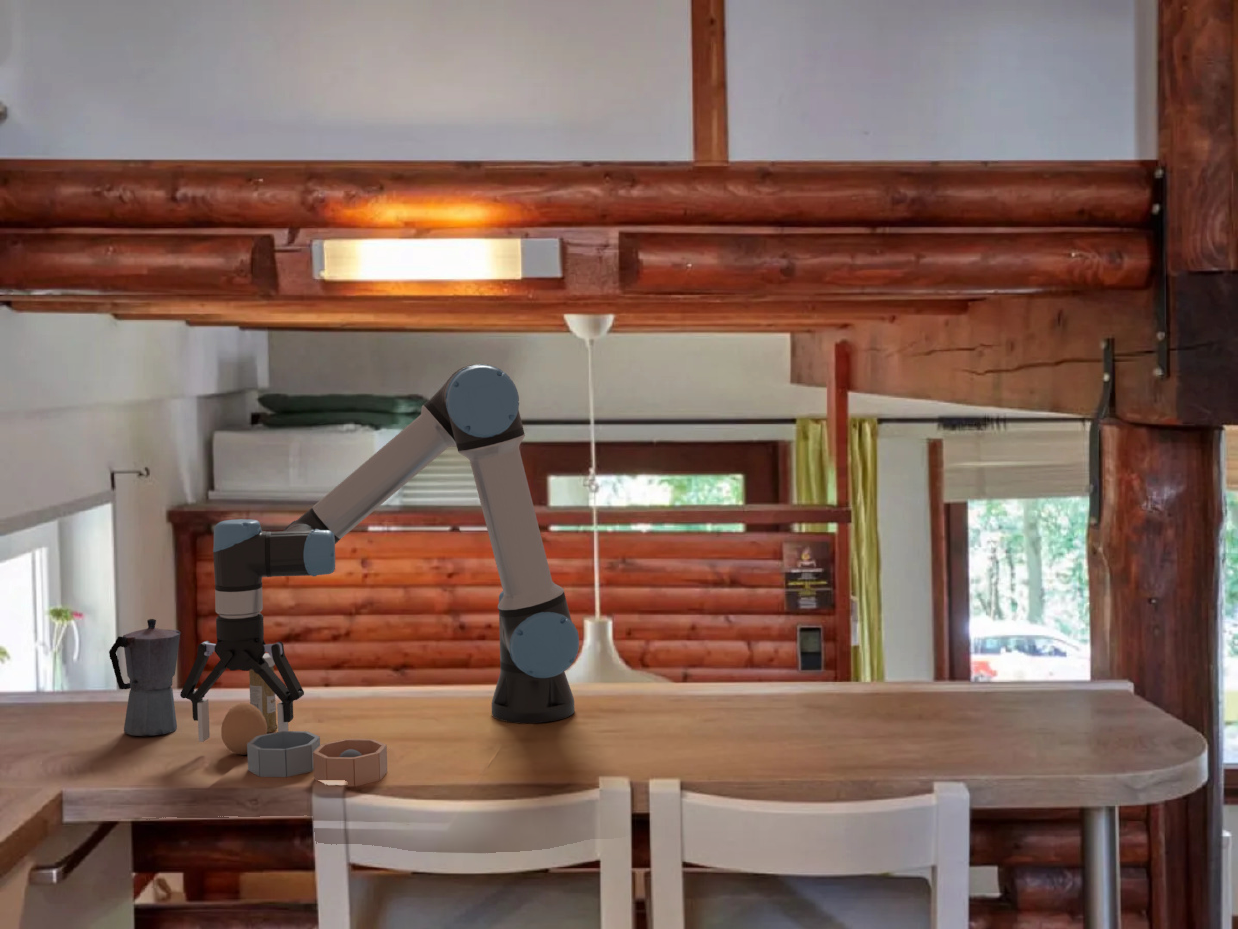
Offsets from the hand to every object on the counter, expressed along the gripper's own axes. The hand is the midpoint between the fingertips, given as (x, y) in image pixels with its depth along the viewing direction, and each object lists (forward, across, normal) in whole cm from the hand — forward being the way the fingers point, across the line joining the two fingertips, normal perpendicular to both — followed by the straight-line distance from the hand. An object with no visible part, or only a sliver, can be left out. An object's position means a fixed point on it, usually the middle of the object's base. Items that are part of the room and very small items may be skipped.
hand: (243, 740), depth 221 cm
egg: (+2, 0, 0) cm, 3 cm away
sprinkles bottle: (+2, +2, -14) cm, 14 cm away
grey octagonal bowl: (+2, -10, +9) cm, 14 cm away
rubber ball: (+1, -22, +13) cm, 26 cm away
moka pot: (+3, +22, -12) cm, 25 cm away
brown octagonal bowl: (+2, -22, +13) cm, 26 cm away
